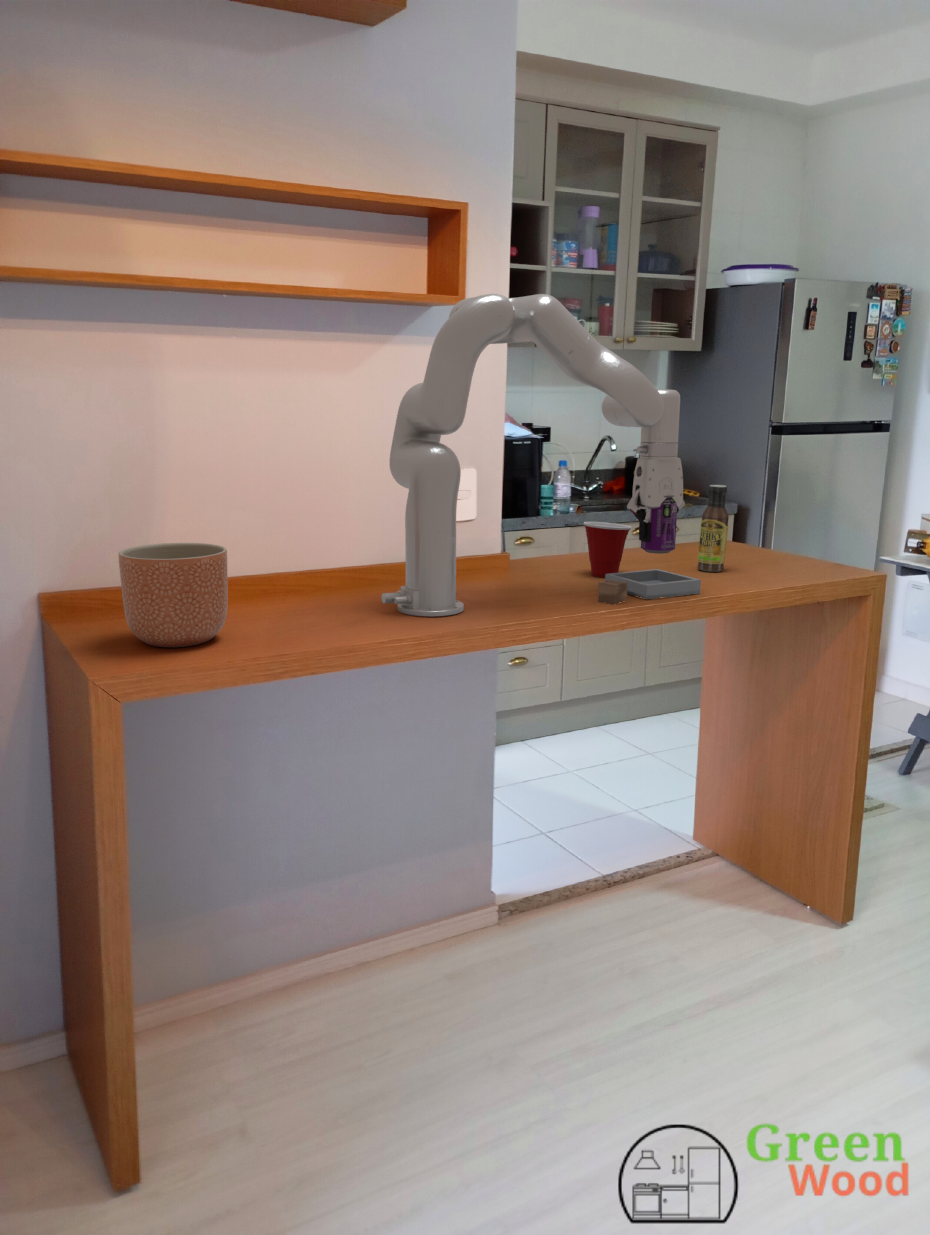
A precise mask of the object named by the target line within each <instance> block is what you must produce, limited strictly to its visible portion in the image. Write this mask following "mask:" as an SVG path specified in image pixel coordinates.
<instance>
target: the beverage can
mask: <svg viewBox="0 0 930 1235" xmlns="http://www.w3.org/2000/svg"><path fill="white" fill-rule="evenodd" d="M664 497H665V498H666V499H665V500H664V501H663V502H662V503H661V505H660V507H658V508H652V509H651V516H650V520H649V522H650V523H651V541H650V542H645V541H640V548H641V549H642V550H643V551H644V552H646V553H649V554H662V555H663V554H669V553H671V552H673V551H674V550H676V538H677V521H678V520H677V519H678V516H677V514H678V513H677V503H676V501H675V500H674V499H673V498H672V497H674V495H670V496H664ZM644 514H645V509H644Z"/></svg>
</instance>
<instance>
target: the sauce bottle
mask: <svg viewBox="0 0 930 1235" xmlns="http://www.w3.org/2000/svg"><path fill="white" fill-rule="evenodd" d="M727 493H728V486H727V485H725V484H710V485H709V486H708V501H707V507H706V508H705V509H704V510H703V512H702V515H701V522H700V528H699V531H700V532H699V542H698V543H699V544H698V552H697V562H698V563H697V569H699V570H700V571H704V572H709V573H710V572H711V573H721V572H723V571H724V570H725V566H724V565H725V563H726V562H725V561H726V553H727V544H728V542H727V541H728V534H729V531H728V530H729V517H730V516H729V512H728V511H727V509H726V494H727Z"/></svg>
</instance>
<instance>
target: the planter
mask: <svg viewBox="0 0 930 1235" xmlns="http://www.w3.org/2000/svg"><path fill="white" fill-rule="evenodd" d="M118 566H119V575H120V577H119V578H120V586H121V595H122V596H121V597H122V604H123V610H124V615H125V619H126V623H127V626H128V627H129V629H130V631H131V633H132V634H133V636H136V638H137V639H139V640H140V641H142V642H144V643H145V644H147V645H149V646H153V647H161V648H184V647H186V648H187V647H192V646H197V645H200V644H204V643H206V642H208V641H210V640H211V639H213V638H214V637H215V636H216V635H218V633H220V631H222V628H223V627H224V625H225V622H226V621H227V616H228V615H227V613H228V606H229V604H228V603H229V602H228V601H229V599H228V596H229V595H228V594H229V593H228V592H229V590H228V589H229V586H228V585H229V584H228V583H229V582H228V581H229V580H228V550H227V548H226V547H225V546H223V545H220V544H219V545H218V544H212V543H202V542H201V543H200V542H170V543H169V542H165V543H152V544H143V545H136V546H131V547H128V548H124V549H122V550H120V551H118Z"/></svg>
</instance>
